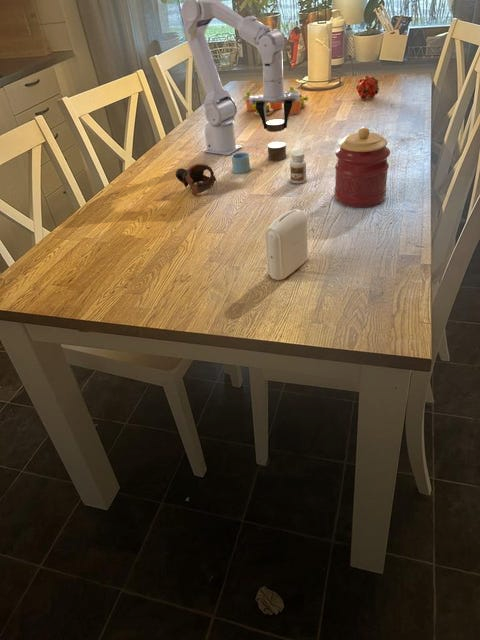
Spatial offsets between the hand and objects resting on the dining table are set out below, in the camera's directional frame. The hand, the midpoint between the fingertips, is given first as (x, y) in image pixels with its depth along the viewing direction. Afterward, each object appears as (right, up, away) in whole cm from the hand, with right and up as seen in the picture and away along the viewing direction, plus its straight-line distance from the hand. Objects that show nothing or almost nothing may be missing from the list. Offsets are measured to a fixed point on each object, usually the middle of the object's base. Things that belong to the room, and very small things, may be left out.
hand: (275, 127), depth 150 cm
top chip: (0, 0, 0) cm, 0 cm away
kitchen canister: (+20, -27, -22) cm, 40 cm away
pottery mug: (-23, -21, -9) cm, 33 cm away
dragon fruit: (+41, +31, +50) cm, 72 cm away
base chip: (+1, -7, +6) cm, 9 cm away
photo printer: (-1, -48, -46) cm, 67 cm away
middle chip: (+1, -6, +5) cm, 7 cm away
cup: (-10, -13, 0) cm, 17 cm away
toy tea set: (+3, +25, +47) cm, 54 cm away
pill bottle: (+6, -19, -10) cm, 22 cm away
